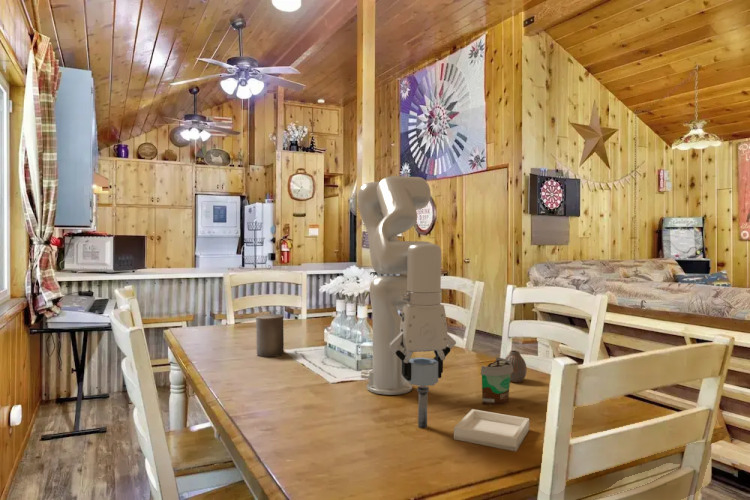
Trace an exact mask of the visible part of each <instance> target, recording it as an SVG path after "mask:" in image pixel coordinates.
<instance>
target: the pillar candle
mask: <svg viewBox="0 0 750 500" xmlns="http://www.w3.org/2000/svg"><path fill="white" fill-rule="evenodd" d="M255 319H256V320H255V321H256V322H255V324H256V327H255V329H256V332H255V333H256V339H255V340H256V342H255V343H256V355H257V356H258V357H262V358H263V357H264V358H266V357H267V358H270V357H278V356H282V355H284V353H285V351H284V346H285V343H284V340H285V339H284V315H282V314H280V313H279V314H278V313H277V314H276V313H274V314H273V313H267V314H260V315H257V316H255Z"/></svg>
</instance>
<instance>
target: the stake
mask: <svg viewBox="0 0 750 500" xmlns="http://www.w3.org/2000/svg"><path fill="white" fill-rule="evenodd" d="M416 391H417V393H418V396H417V397H418V406H417V408H418V409H417V412H418V413H417V415H418V416H417V422H418V423H417V427H418V428H420V429H427V428H428V393H429V391H430V388H429V387H428V386H417V388H416Z"/></svg>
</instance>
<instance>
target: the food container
mask: <svg viewBox="0 0 750 500" xmlns="http://www.w3.org/2000/svg"><path fill="white" fill-rule="evenodd" d="M495 359H496V360H495V361H494V362H490V363H488V365H487V366H486V365H485V366H484V365H482V366H481V369H480V376H481V392H482V396H481V399H482V403H481V404H482V405H487V406H501V405H506V404H508V402H509V398H510V397H509V396H510V384H511V382H510V375H511V373H512V372H513V366H512V364H511V362H510V361H509V360H507V359H506V358H503V357H497V356H496V357H495Z"/></svg>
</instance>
